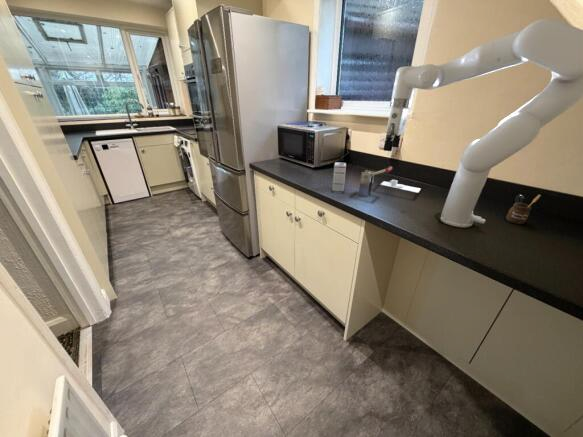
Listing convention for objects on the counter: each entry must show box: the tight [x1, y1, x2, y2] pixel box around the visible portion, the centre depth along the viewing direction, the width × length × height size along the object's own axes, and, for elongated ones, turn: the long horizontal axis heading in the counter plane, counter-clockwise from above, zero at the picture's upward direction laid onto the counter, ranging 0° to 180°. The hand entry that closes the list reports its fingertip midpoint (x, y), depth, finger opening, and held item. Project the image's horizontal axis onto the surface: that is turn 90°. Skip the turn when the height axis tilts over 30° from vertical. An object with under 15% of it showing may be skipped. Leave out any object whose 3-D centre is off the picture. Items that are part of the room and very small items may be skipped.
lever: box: [369, 166, 393, 177], centre depth 106 cm, size 12×5×2 cm, turn 53°
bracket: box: [357, 169, 375, 198], centre depth 112 cm, size 11×9×13 cm
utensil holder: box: [505, 194, 542, 225], centre depth 92 cm, size 6×6×12 cm
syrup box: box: [332, 161, 347, 192], centre depth 118 cm, size 6×6×14 cm
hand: (391, 148), depth 99 cm, fingers open, 9 cm apart
